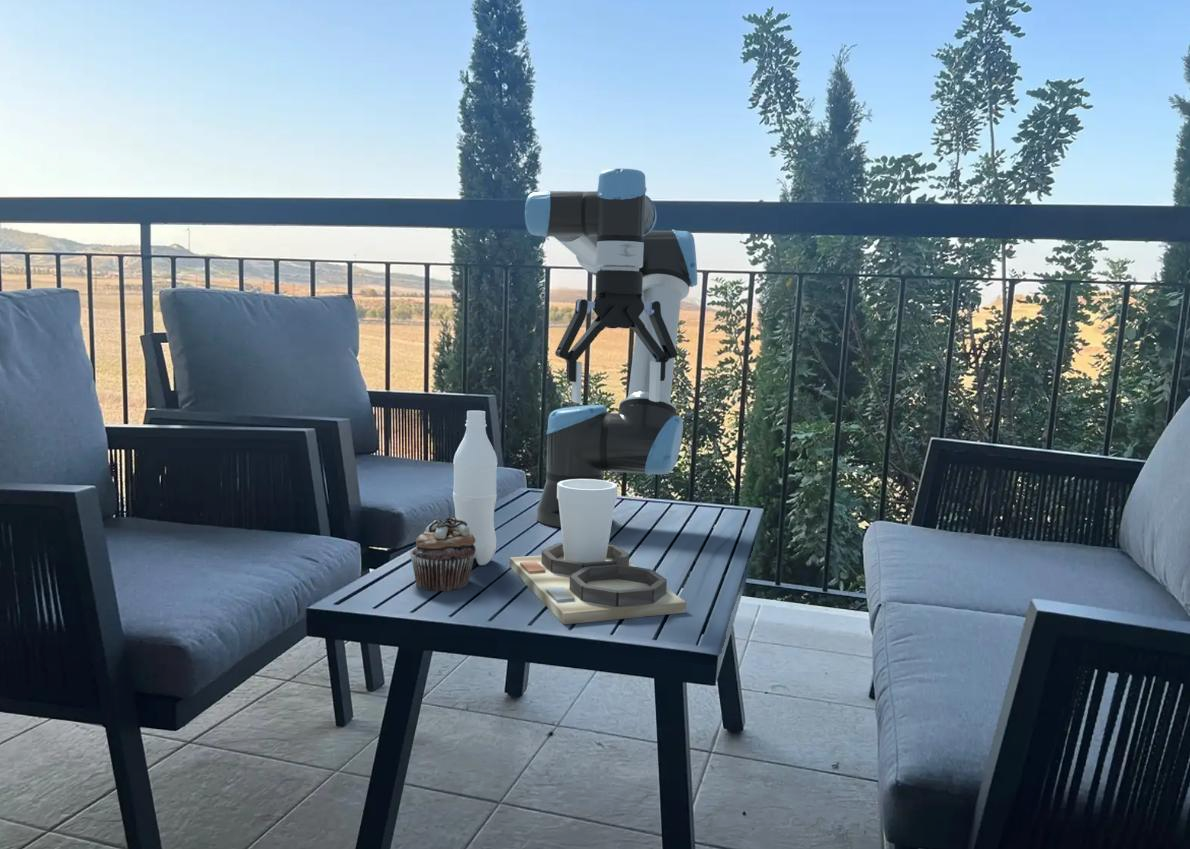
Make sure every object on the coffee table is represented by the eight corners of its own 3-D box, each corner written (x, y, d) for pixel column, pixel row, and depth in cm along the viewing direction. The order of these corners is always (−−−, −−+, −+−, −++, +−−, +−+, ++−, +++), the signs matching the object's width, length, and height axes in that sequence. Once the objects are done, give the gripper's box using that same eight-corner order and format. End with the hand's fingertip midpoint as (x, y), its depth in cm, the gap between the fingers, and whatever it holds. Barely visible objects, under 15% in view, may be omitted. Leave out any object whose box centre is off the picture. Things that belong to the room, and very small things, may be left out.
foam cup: (581, 553, 142) (583, 476, 141) (626, 564, 137) (628, 484, 135) (543, 564, 135) (545, 483, 133) (588, 576, 129) (591, 492, 128)
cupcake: (449, 570, 136) (450, 508, 135) (487, 584, 129) (488, 519, 128) (397, 581, 129) (397, 516, 128) (434, 597, 122) (435, 529, 121)
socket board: (509, 566, 139) (510, 545, 138) (612, 559, 145) (613, 539, 145) (563, 624, 113) (564, 598, 112) (685, 612, 119) (686, 588, 119)
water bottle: (488, 569, 137) (491, 414, 134) (446, 566, 138) (447, 412, 135) (500, 557, 144) (503, 410, 141) (460, 554, 145) (461, 408, 142)
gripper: (551, 266, 129) (548, 405, 132) (700, 271, 137) (694, 403, 140) (537, 267, 136) (536, 400, 139) (680, 272, 144) (675, 397, 147)
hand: (615, 401), depth 139 cm, fingers open, 13 cm apart
